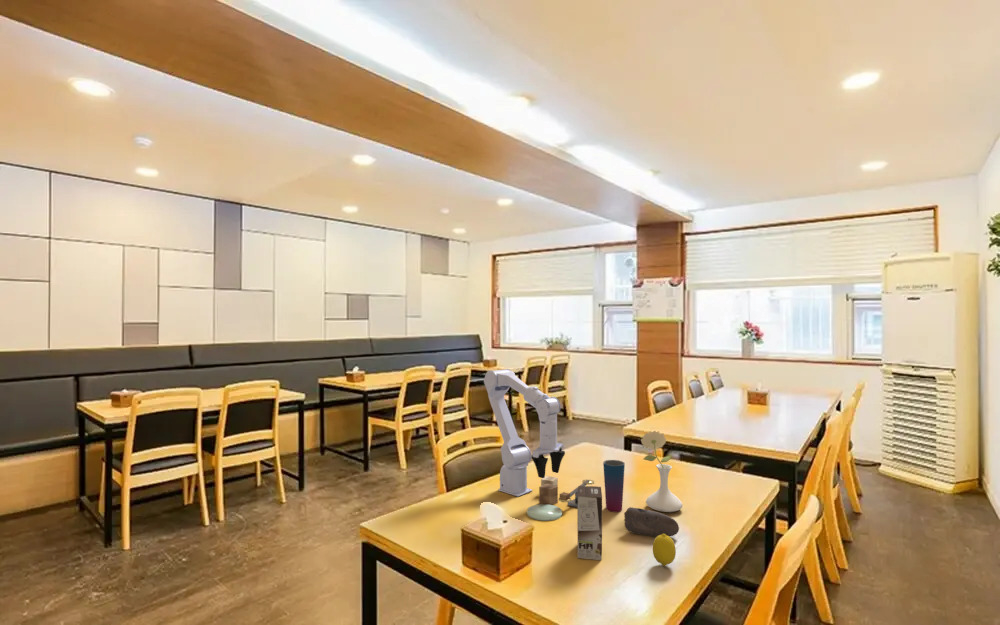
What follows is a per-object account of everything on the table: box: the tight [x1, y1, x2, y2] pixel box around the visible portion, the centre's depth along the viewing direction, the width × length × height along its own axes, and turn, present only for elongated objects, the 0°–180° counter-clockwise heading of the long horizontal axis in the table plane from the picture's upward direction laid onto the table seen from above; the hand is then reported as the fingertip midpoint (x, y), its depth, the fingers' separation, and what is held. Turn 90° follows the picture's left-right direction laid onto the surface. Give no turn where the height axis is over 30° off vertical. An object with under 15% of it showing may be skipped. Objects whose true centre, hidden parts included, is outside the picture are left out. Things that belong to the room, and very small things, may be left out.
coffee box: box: [576, 485, 603, 561], centre depth 138 cm, size 9×6×16 cm
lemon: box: [652, 534, 677, 567], centre depth 130 cm, size 6×6×8 cm
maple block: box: [540, 475, 559, 486], centre depth 182 cm, size 4×4×6 cm
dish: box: [526, 503, 563, 522], centre depth 164 cm, size 11×11×1 cm
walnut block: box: [538, 484, 559, 506], centre depth 173 cm, size 4×4×6 cm
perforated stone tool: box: [623, 506, 680, 538], centre depth 148 cm, size 15×5×7 cm, turn 69°
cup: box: [602, 459, 626, 513], centre depth 168 cm, size 7×7×15 cm
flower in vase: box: [640, 430, 684, 513], centre depth 168 cm, size 13×11×25 cm
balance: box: [558, 479, 595, 509], centre depth 172 cm, size 4×18×6 cm, turn 137°
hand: (548, 474), depth 173 cm, fingers open, 7 cm apart
